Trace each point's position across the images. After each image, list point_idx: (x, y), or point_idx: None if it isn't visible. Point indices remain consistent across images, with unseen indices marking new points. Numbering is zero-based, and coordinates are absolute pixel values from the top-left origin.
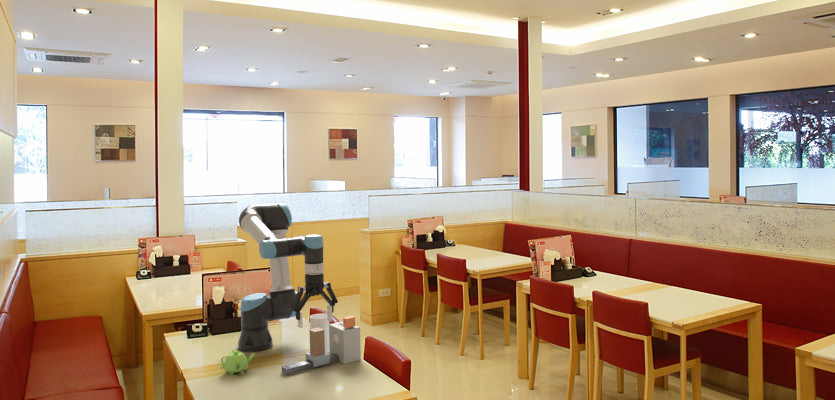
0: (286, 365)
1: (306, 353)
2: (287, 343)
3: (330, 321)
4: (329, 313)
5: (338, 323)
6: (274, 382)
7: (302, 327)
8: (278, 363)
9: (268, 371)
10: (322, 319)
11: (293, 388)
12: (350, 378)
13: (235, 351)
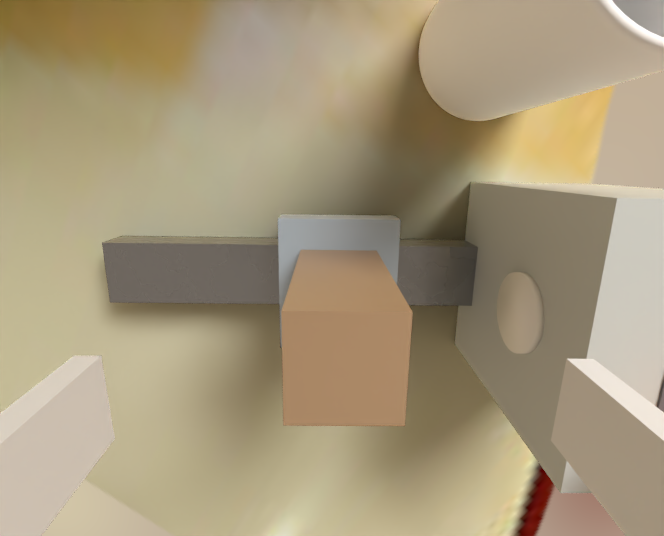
0: (133, 245)
1: (279, 234)
2: None
3: (552, 436)
4: (640, 514)
5: None
6: (45, 331)
7: (110, 443)
8: (157, 69)
9: (60, 162)
10: (653, 54)
11: None
12: (364, 504)
13: None
